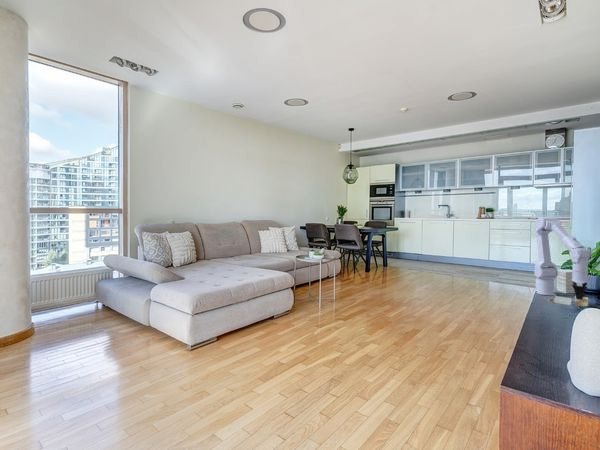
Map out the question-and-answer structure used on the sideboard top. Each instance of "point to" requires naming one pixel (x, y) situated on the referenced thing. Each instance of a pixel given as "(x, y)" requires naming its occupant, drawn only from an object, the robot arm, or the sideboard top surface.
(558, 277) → the supplement box
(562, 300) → the acrylic channel
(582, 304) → the maple block
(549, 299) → the trap plate
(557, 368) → the sideboard top surface
